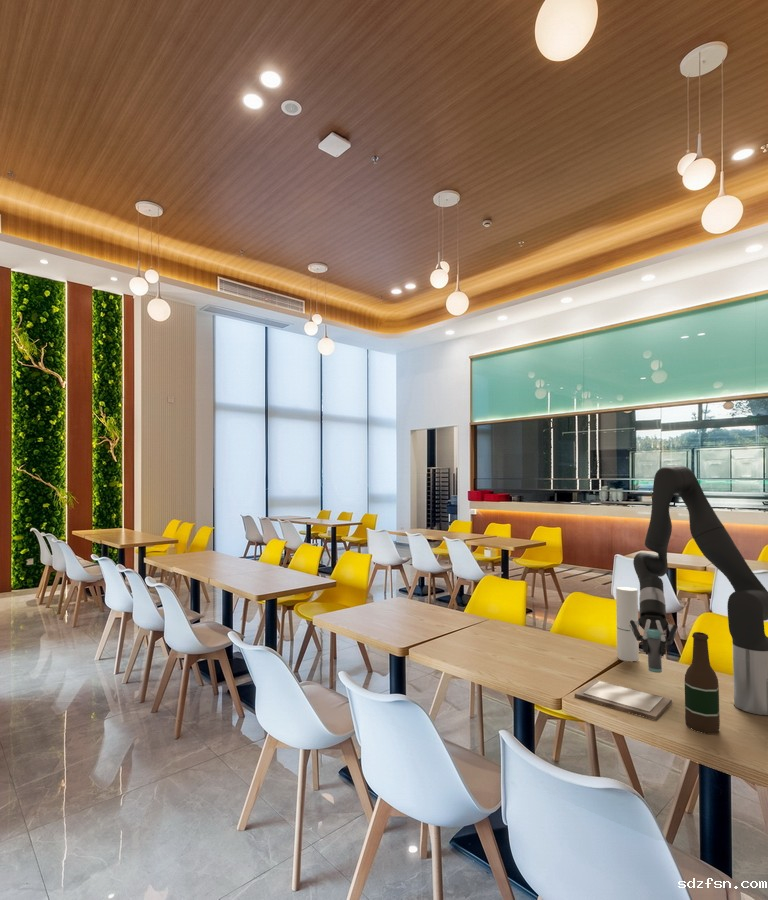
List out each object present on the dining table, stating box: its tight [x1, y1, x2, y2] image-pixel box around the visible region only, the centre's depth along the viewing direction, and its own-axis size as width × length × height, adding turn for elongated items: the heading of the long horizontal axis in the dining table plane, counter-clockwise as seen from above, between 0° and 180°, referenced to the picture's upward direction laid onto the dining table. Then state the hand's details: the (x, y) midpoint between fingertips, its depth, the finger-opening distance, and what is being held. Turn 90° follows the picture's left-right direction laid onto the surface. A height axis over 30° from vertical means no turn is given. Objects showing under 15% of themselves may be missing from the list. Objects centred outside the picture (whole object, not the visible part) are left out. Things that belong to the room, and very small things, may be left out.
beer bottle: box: [684, 631, 721, 735], centre depth 136 cm, size 8×8×24 cm
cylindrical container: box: [615, 586, 640, 662], centre depth 190 cm, size 7×7×25 cm
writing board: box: [574, 678, 673, 721], centre depth 152 cm, size 22×16×1 cm
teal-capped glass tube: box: [647, 629, 663, 674], centre depth 159 cm, size 4×4×12 cm
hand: (654, 653), depth 157 cm, fingers closed on teal-capped glass tube, 3 cm apart
